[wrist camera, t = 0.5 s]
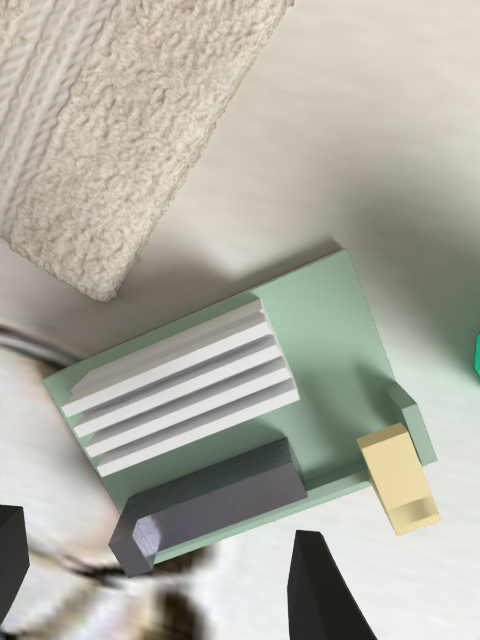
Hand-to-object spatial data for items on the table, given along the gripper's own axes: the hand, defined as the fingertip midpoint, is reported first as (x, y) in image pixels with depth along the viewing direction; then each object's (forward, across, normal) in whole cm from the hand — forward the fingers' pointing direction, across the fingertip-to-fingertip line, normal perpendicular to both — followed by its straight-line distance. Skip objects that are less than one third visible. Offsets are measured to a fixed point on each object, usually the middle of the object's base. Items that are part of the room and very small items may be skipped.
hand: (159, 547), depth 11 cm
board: (+10, -2, +2) cm, 11 cm away
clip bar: (+10, -1, +6) cm, 11 cm away
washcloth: (+12, +5, -14) cm, 19 cm away
